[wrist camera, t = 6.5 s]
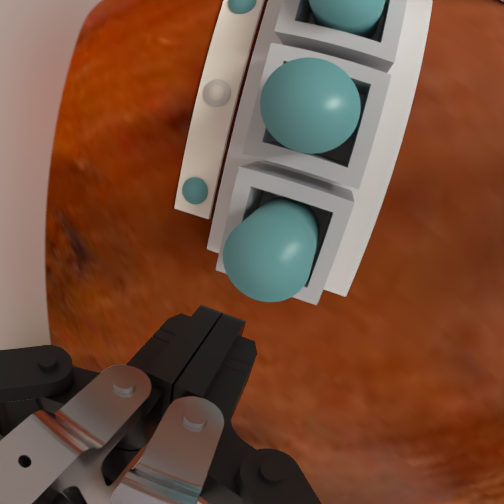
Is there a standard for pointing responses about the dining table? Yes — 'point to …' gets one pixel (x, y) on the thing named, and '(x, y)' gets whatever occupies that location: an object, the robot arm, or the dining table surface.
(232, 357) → the robot arm
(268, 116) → the button
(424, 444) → the dining table surface
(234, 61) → the card
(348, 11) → the button
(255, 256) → the button
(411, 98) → the board
